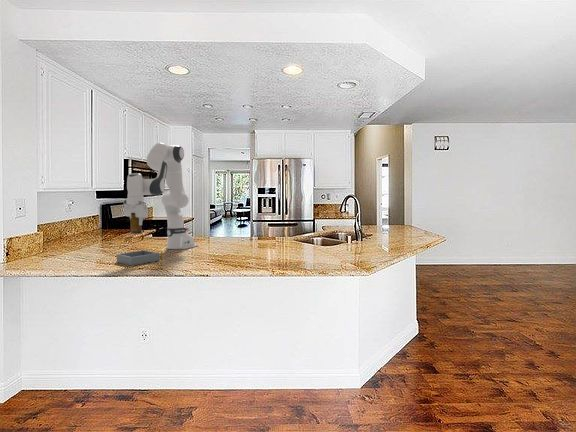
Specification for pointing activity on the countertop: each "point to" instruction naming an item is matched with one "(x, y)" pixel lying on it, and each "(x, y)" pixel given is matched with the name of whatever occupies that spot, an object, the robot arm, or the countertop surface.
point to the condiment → (135, 225)
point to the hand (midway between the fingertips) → (136, 224)
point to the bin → (137, 257)
